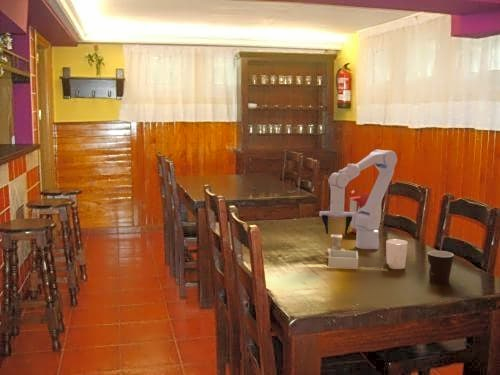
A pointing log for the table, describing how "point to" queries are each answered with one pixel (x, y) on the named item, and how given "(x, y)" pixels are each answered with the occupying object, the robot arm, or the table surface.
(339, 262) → the bin
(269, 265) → the table surface
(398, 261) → the white cup
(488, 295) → the table surface
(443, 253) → the coffee mug
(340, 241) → the socket block
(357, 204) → the citrus juicer
